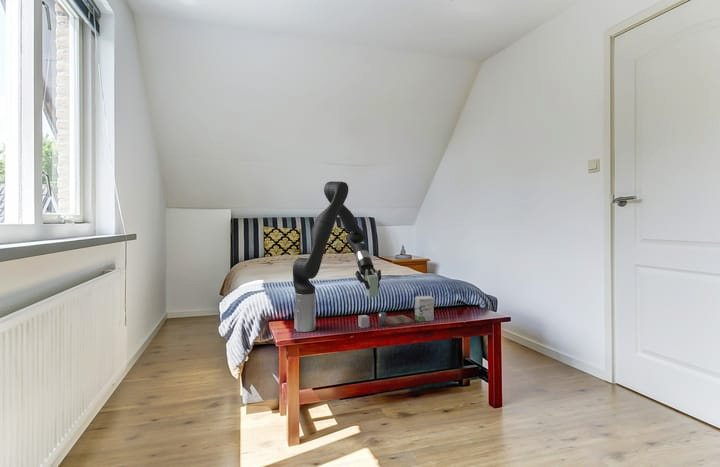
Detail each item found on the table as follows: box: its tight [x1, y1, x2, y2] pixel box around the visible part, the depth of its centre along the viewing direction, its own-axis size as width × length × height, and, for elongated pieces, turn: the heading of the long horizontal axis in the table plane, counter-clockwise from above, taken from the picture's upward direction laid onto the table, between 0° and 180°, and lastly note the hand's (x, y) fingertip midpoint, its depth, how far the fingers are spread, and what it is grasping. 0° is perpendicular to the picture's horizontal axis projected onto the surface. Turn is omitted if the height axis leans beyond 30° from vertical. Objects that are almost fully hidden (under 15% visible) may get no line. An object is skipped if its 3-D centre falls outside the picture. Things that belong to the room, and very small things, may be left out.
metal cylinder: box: [378, 311, 387, 328], centre depth 189 cm, size 4×4×6 cm
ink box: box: [414, 295, 435, 322], centre depth 199 cm, size 8×5×12 cm, turn 107°
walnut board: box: [386, 314, 416, 326], centre depth 197 cm, size 12×12×1 cm
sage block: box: [365, 275, 379, 298], centre depth 195 cm, size 5×5×10 cm
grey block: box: [357, 314, 370, 329], centre depth 187 cm, size 4×4×5 cm
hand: (373, 288), depth 193 cm, fingers closed on sage block, 4 cm apart
